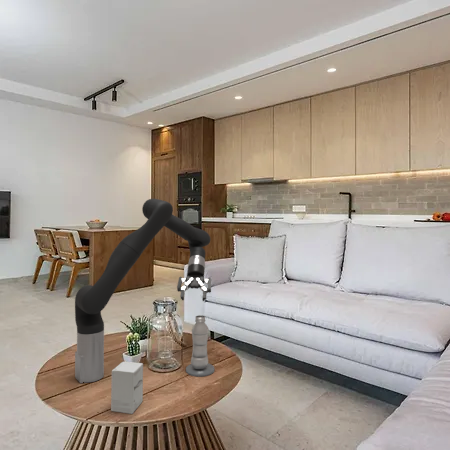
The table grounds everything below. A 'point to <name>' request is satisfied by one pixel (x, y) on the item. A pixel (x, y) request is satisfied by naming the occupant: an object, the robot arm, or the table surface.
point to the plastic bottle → (199, 343)
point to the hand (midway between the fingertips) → (193, 299)
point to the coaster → (200, 371)
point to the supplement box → (127, 387)
